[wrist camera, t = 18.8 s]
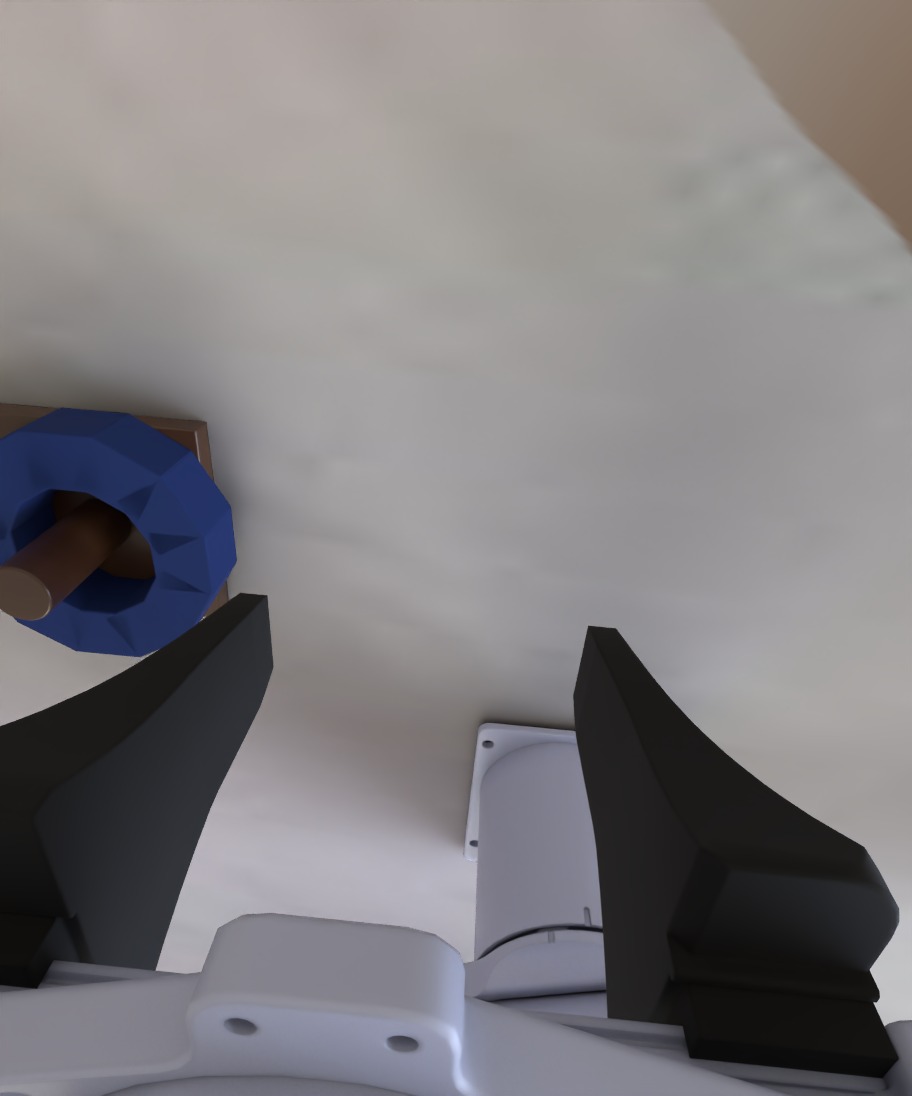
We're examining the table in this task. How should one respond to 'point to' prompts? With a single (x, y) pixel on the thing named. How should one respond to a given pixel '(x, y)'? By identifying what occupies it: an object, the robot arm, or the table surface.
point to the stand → (84, 532)
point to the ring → (149, 502)
